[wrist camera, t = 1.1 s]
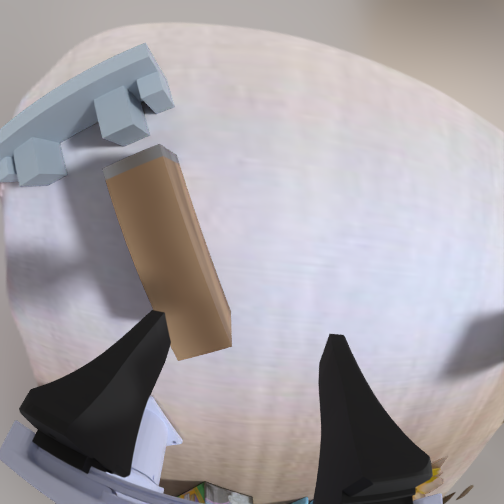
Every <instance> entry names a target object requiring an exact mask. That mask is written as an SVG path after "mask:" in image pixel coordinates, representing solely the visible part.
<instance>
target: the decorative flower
mask: <svg viewBox="0 0 504 504" xmlns="http://www.w3.org/2000/svg"><path fill="white" fill-rule="evenodd" d="M447 457H448V456H446V457H444V458H441V459H439V460H437V461H435V462H433V463H431V465H432V473H433V476H432V477H431V479H430V480H428V481H426V482H425V483H423V484H421V485H419V486H417V487H415V489H416V494H415V495H413V501H414V500H417V499H420V498H424V497H425V494H427V493H430V492H431V491H433V490H435V489H436V488H438V487H439V486H441V485H442V484H443V479H442V478H440V477H439V476H440V475H441V474H442V473H443V472H442V471H441V469H440V467H441V466H442V464H443V463H444V462H445V460H446V459H447Z"/></svg>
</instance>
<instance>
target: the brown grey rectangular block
mask: <svg viewBox="0 0 504 504" xmlns="http://www.w3.org/2000/svg"><path fill="white" fill-rule="evenodd" d="M102 170H103V173H104V177H105V180H106V184H107V187H108V190H109V193H110V197H111V200H112V203H113V206H114V209H115V212H116V215H117V218H118V221H119V224H120V227H121V230H122V233H123V235H124V238H125V241H126V244H127V246H128V249H129V252H130V254H131V257H132V260H133V262H134V265H135V267H136V270H137V272H138V275H139V277H140V280H141V282H142V284H143V287H144V289H145V292H146V294H147V296H148V299H149V301H150V303H151V305H152V308H153V310H155V311H160V312H165V316H166V321H167V326H168V331H169V336H170V340H171V344H170V346H171V348H172V350H173V352H174V354H175V356H176V358H177V360H178V361H180V360H184V359H188V358H192V357H196V356H199V355H203V354H207V353H211V352H214V351H218V350H221V349H225V348H228V347H232V336H231V311H230V308H229V305H228V303H227V300H226V297H225V295H224V292H223V289H222V287H221V284H220V281H219V279H218V276H217V273H216V270H215V268H214V265H213V262H212V259H211V256H210V254H209V251H208V248H207V245H206V242H205V239H204V237H203V234H202V231H201V228H200V225H199V222H198V219H197V216H196V213H195V210H194V207H193V204H192V201H191V198H190V195H189V192H188V189H187V186H186V183H185V180H184V177H183V174H182V171H181V168H180V164H179V161H178V158H177V155H176V154H174V153H173V152H171V151H170V150H168V149H166V148H165V147H163V146H162V145H160V144H158V145H155V146H153V147H150V148H148V149H145V150H143V151H141V152H138V153H136V154H133V155H131V156H129V157H127V158H124V159H122V160H120V161H118V162H115V163H113V164H111V165H109V166H107V167H105V168H103V169H102Z"/></svg>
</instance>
